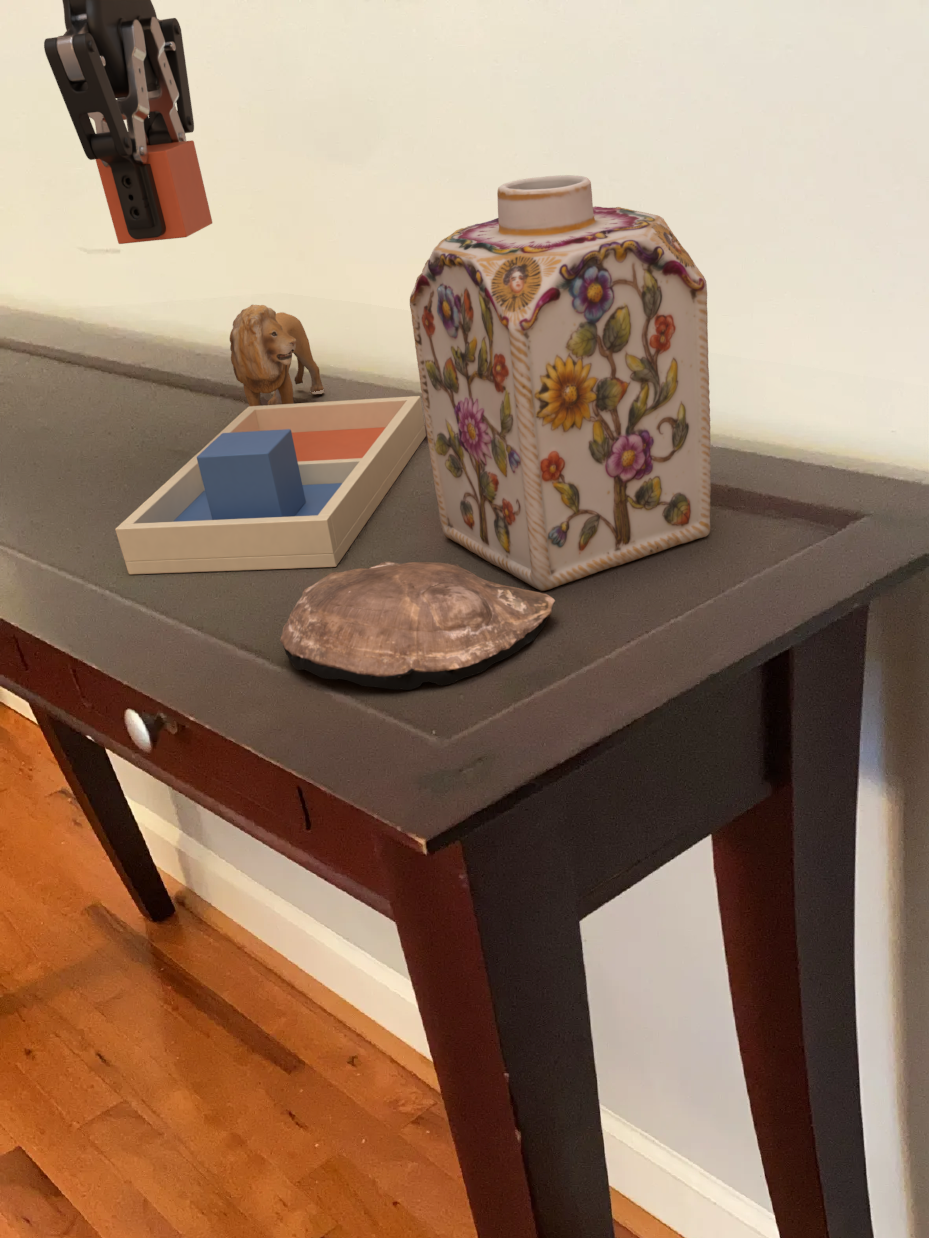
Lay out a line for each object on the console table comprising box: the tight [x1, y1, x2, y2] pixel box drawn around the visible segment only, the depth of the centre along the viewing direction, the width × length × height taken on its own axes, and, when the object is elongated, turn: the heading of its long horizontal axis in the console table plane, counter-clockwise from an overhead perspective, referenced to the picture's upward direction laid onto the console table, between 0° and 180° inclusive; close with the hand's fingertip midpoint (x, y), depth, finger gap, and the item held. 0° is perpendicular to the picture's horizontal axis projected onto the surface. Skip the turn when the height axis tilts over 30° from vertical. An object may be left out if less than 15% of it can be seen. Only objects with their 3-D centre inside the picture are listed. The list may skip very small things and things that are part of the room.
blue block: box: [197, 429, 306, 520], centre depth 77 cm, size 4×4×4 cm
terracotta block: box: [95, 140, 213, 245], centre depth 77 cm, size 4×4×4 cm
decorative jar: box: [409, 174, 712, 592], centre depth 68 cm, size 12×12×18 cm
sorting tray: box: [115, 395, 427, 575], centre depth 83 cm, size 13×24×3 cm, turn 171°
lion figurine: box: [229, 304, 325, 407], centre depth 97 cm, size 15×5×9 cm, turn 2°
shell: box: [279, 561, 556, 691], centre depth 63 cm, size 12×13×4 cm
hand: (164, 227), depth 78 cm, fingers closed on terracotta block, 4 cm apart
